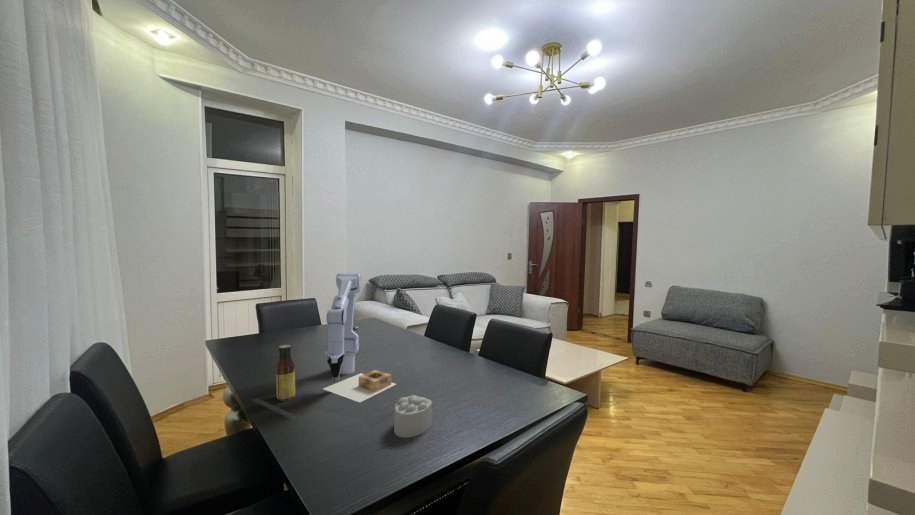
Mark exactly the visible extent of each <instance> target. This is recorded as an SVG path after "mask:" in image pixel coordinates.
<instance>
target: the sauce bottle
mask: <svg viewBox="0 0 915 515" xmlns="http://www.w3.org/2000/svg"><path fill="white" fill-rule="evenodd" d="M291 350H292V345H291V344H283V345H279V346H278V352H279V355H278V356H279V357H278V358H279V359H278V361H277V363H276V366H275V385H276V386H275V388H276V400H278V401H281V402H283V401H285V402H286V401H289V400H292V399H294V398H295V397H296V367H295V363H294V361H293V358H292V355H291V353H292V352H291Z"/></svg>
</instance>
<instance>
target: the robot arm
mask: <svg viewBox="0 0 915 515" xmlns="http://www.w3.org/2000/svg"><path fill="white" fill-rule="evenodd" d="M335 284H336V287H337V289H338V291H337V292H338V294H337V295H336V296H335V297H334V298H333V302H332V305H331V307H330V309H329V310H327V313H326V324H327V328H326V329H327V330H328V331H327V332H328V335H327V336H328V338H327V339H328V340H327V341H328V342H327V351H325V352H324V355H325V356H326V355H327V356H328V358H327V364H328V366H329V369H330V372H331V378H332V377H333V378H334V377H338V376H339V371H340V375H349V374H354V372H355V369H356V361H355V360H356V359H355V358H356V354H357V353H358V352H359V347H360V340H359V338H360V337H359V334H358V333H357V332H356V331H354V329H353V328H354V316H355V315H354V314H355V300H356V295H357V293H360V291H361V285H362V275H361V274H360V272H357V273H356V272H355V273H351V272H338V273H337V274H336V278H335Z"/></svg>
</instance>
